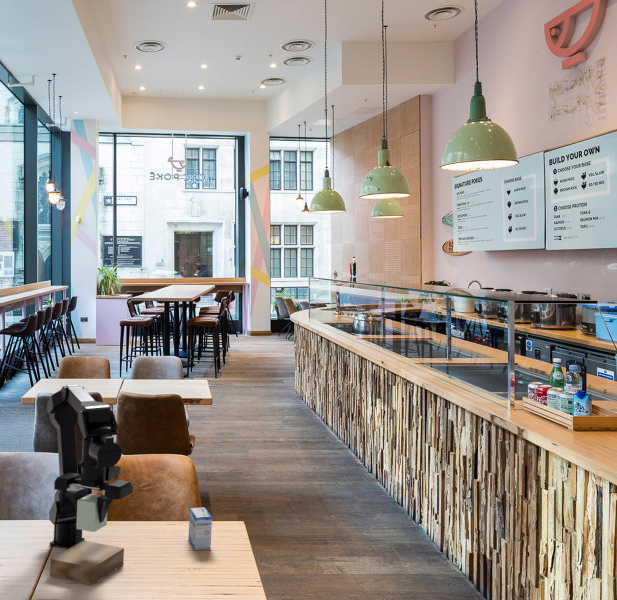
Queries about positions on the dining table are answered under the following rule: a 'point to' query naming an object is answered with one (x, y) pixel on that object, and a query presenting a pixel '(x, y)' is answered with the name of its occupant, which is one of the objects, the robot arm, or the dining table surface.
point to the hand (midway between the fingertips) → (92, 520)
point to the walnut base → (86, 562)
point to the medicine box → (200, 528)
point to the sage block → (89, 514)
